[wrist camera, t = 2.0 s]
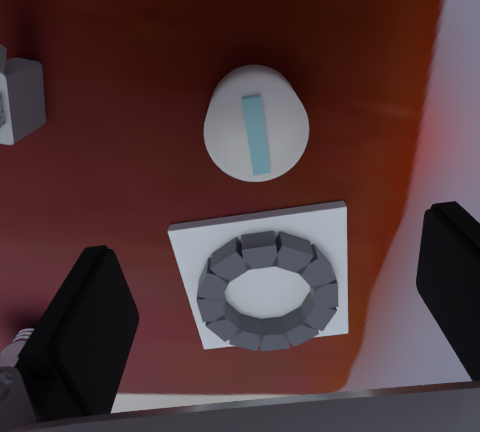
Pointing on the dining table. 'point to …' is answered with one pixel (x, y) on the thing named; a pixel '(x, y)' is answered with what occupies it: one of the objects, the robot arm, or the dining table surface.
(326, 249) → the segmented ring plate
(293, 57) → the dining table surface
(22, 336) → the light bulb
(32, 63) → the lighter
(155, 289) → the dining table surface
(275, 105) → the knob
